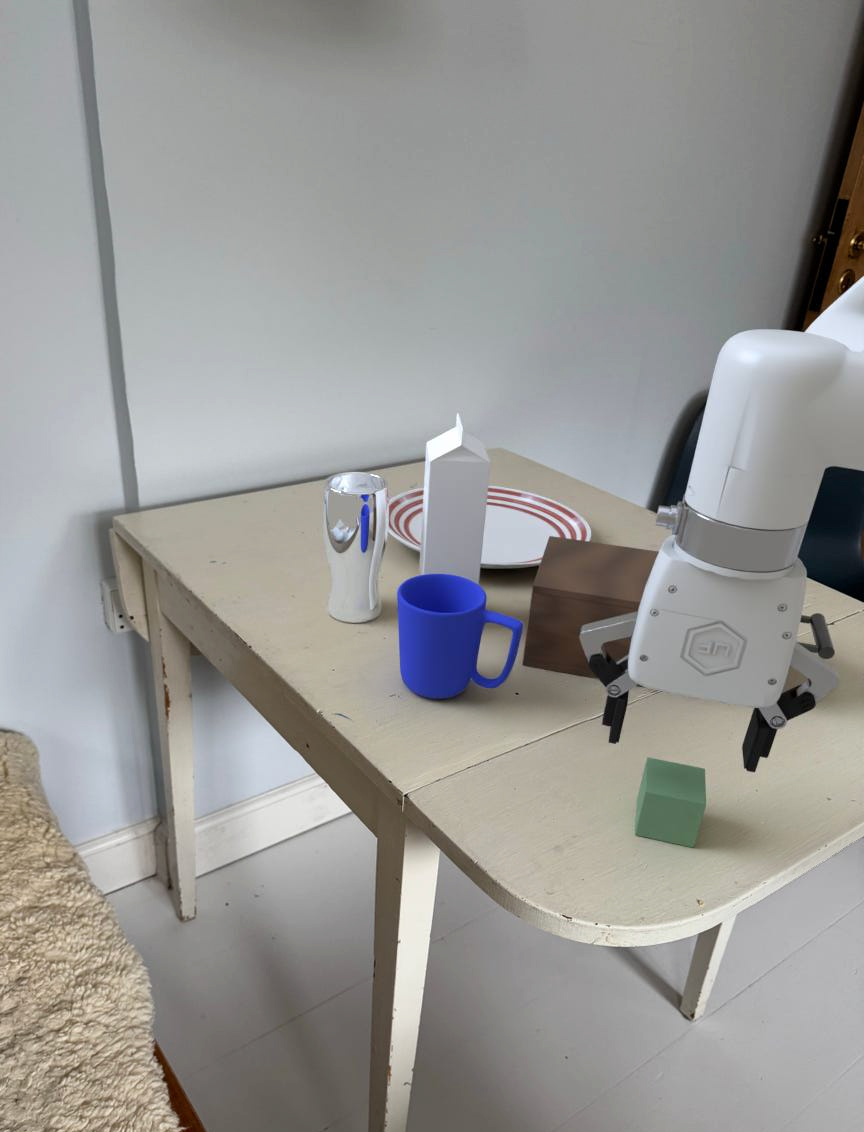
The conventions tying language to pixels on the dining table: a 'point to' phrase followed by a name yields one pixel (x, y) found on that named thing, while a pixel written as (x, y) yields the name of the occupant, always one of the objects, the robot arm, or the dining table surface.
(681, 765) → the block
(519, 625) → the mug
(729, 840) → the dining table surface
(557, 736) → the dining table surface
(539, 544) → the dinner plate
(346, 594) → the beer glass
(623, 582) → the cabinet
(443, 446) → the milk
